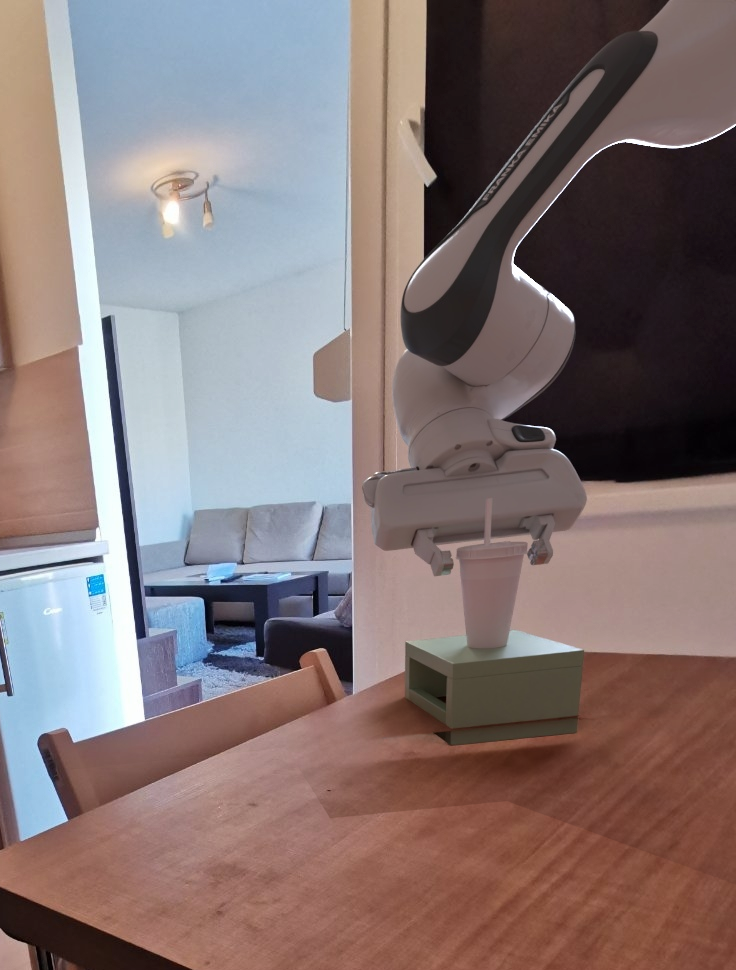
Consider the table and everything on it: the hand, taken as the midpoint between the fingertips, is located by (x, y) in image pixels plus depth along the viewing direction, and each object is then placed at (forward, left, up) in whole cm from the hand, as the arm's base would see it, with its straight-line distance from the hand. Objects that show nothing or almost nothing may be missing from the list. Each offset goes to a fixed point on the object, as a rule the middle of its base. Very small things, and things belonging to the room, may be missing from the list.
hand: (493, 566), depth 74 cm
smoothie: (0, -1, -8) cm, 8 cm away
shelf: (0, -1, -16) cm, 16 cm away
